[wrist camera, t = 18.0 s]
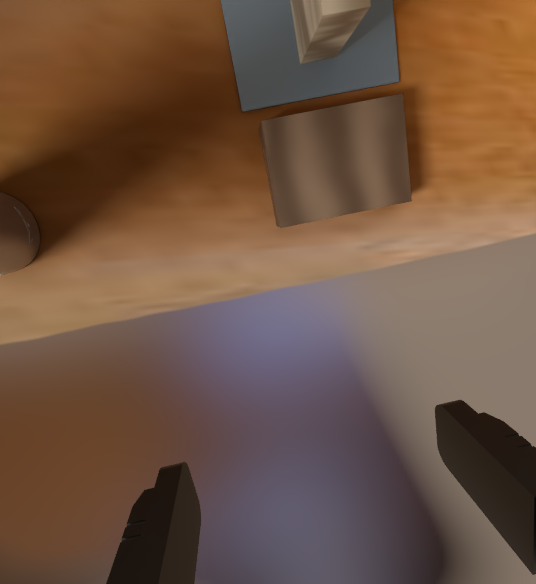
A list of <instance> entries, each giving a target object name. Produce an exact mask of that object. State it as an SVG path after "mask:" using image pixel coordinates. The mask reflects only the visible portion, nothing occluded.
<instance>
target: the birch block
mask: <svg viewBox="0 0 536 584" xmlns="http://www.w3.org/2000/svg"><path fill="white" fill-rule="evenodd" d="M290 4H291V10H292V16H293V22H294V29H295V35H296V41H297V48H298V54H299V60H300V64H305V63H310V62H315V61H320V60H325V59H330V58H335V57H336V56H337V55H338V53H339V52H340V51H341V49H342V48H343V46H344V45H345V43H346V42H347V40H348V39H349V37H350V36H351V34H352V33H353V32H354V30H355V29H356V27H357V26H358V24H359V23H360V21H361V20H362V18H363V17H364V15H365V14H366V12H367V11H368V10H369V8H370V7H371V5H370V0H290Z"/></svg>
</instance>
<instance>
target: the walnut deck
mask: <svg viewBox="0 0 536 584" xmlns="http://www.w3.org/2000/svg"><path fill="white" fill-rule="evenodd" d="M259 131H260V137H261V142H262V148H263V153H264V159H265V164H266V169H267V175H268V180H269V186H270V191H271V197H272V202H273V208H274V213H275V218H276V224H277V226H278V227H280V228H283V227H288V226H293V225H297V224H302V223H307V222H312V221H317V220H322V219H327V218H332V217H337V216H341V215H346V214H351V213H356V212H361V211H366V210H371V209H376V208H380V207H385V206H390V205H395V204H400V203H405V202H410V201H412V200H411V187H410V174H409V162H408V149H407V136H406V124H405V111H404V98H403V93H402V94H397V95H392V96H387V97H382V98H376V99H371V100H366V101H361V102H356V103H350V104H345V105H340V106H335V107H329V108H324V109H319V110H314V111H309V112H303V113H298V114H293V115H288V116H283V117H277V118H272V119H267V120H262V121H261V124H260V127H259Z"/></svg>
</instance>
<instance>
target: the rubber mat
mask: <svg viewBox="0 0 536 584" xmlns="http://www.w3.org/2000/svg"><path fill="white" fill-rule="evenodd" d="M221 5H222V10H223V15H224V20H225V25H226V30H227V36H228V41H229V46H230V51H231V56H232V61H233V67H234V72H235V77H236V82H237V87H238V92H239V98H240V103H241V108H242V112H246V111H251V110H256V109H261V108H267V107H272V106H277V105H282V104H288V103H293V102H298V101H303V100H309V99H314V98H319V97H324V96H330V95H335V94H340V93H345V92H351V91H356V90H361V89H366V88H372V87H377V86H382V85H387V84H393V83H398V82H399V71H398V59H397V46H396V34H395V22H394V9H393V0H370V5H371V7H370V8H369V10H368V11H367V12H366V14H365V15H364V17H363V18H362V20H361V21H360V23H359V24H358V26H357V27H356V29H355V30H354V32H353V33H352V34H351V36H350V37H349V39H348V40H347V42H346V43H345V45H344V46H343V48H342V49H341V51H340V52H339V53H338V55H337V56H336V57H335V58H330V59H325V60H320V61H315V62H310V63H305V64H300V60H299V54H298V48H297V41H296V35H295V29H294V22H293V16H292V10H291V4H290V0H221Z"/></svg>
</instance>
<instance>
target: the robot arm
mask: <svg viewBox="0 0 536 584" xmlns="http://www.w3.org/2000/svg"><path fill="white" fill-rule="evenodd" d="M39 245H40V232H39V228H38V225H37V222H36V220H35V218H34V216H33V215H32V214H31V212H30V211H29V210H28V208H27V207H25V206H24V205H23V204H22V203H21V202H20V201H18V200H17V199H15V198H14V197H12V196H10V195H7V194H5V193H1V192H0V276H1V275H5V274H8V273H11V272H14V271H17V270H20V269H22V268H24V267H25V266H27V265H28V264H29V263H31V261H32V260H33V259H34V258H35V256H36V254H37V252H38V250H39ZM435 418H436V431H437V445H438V450H439V453H440V456H441V458H442V460H443V462H444V463H445V465H446V466H447V468H448V469H449V471H450V472H451V473H452V474H453V475H454V477H455V478H456V479H457V481H458V482H459V483H460V484H461V486H462V487H463V488H464V489H465V491H466V492H467V493H468V494H469V495H470V497H471V498H472V499H473V501H474V502H475V503H476V504H477V506H478V507H479V508H480V509H481V510H482V512H483V513H484V514H485V516H486V517H487V518H488V519H489V521H490V522H491V523H492V524H493V525H494V527H495V528H496V529H497V530H498V532H499V533H500V534H501V536H502V537H503V538H504V539H505V541H506V542H507V543H508V544H509V546H510V547H511V548H512V549H513V551H514V552H515V553H516V554H517V556H518V557H519V558H520V559H521V561H522V562H523V563H524V564H525V566H527V568H528V569H529V571H530V572H531V573H532V574H533V575H534V574H536V448H535V447H534V446H533V447H532V446H531V444H530V443H529V442H528V441H527V440H526V439H524V438H523V437H522V436H519V435H518V433H517V432H516V431H515V430H513V429H512V428H511V427H510V426H508V425H507V424H506V423H505V422H503V421H501V420H499V419H497V418H495V417H493V416H491V415H489V414H487V413H479V414H478V413H477V412H476V411H474V410H473V409H472V408H471V407H470V406H469V405H467V404H466V403H465V402H464V401H462V400H457V401H452V402H448V403H444V404H440V405H437V406H436V407H435ZM200 526H201V512H200V504H199V499H198V496H197V493H196V490H195V486H194V483H193V480H192V477H191V473H190V470H189V467H188V465H187V463H186V462H183V463H178V464H174V465H169V466H165V467H162V468H160V470H159V473H158V477H157V480H156V484H155V487H154V488H151V489H147V490H144V492H143V493H142V494H141V496H140V497H139V498H138V500H137V501H136V503H135V504H134V505H133V507H132V510H131V513H130V516H129V519H128V522H127V527H126V528H125V531H124V534H123V536H122V542H121V543H120V545H119V548H118V551H117V554H116V557H115V560H114V563H113V566H112V569H111V572H110V574H109V577H108V580H107V583H106V584H194V581H195V571H196V562H197V553H198V544H199V535H200Z"/></svg>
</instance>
